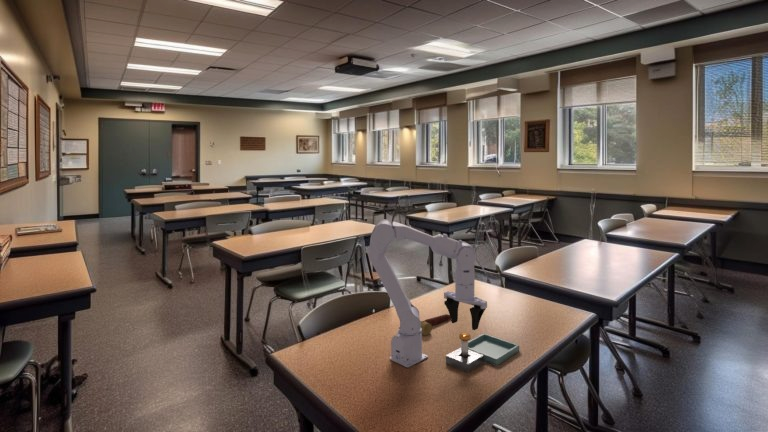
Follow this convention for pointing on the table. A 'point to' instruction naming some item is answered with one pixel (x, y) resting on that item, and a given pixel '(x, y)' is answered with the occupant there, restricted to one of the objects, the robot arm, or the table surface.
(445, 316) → the gavel
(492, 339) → the tray
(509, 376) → the table surface
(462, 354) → the steel pin
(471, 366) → the block
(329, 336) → the table surface
